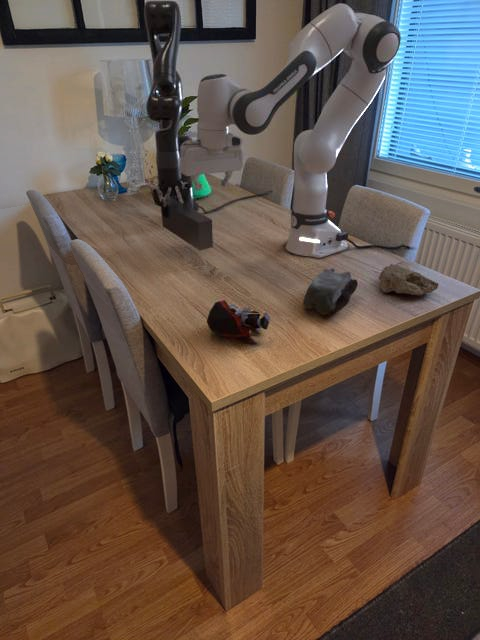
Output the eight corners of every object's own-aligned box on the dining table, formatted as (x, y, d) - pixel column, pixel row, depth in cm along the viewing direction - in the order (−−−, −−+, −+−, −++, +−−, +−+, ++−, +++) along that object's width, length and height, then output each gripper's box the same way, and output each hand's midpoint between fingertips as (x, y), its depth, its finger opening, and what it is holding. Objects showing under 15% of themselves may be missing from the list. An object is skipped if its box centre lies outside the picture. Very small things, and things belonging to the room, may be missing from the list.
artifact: (399, 307, 125) (440, 299, 130) (406, 284, 121) (449, 278, 126) (362, 275, 139) (401, 270, 144) (368, 254, 135) (408, 249, 140)
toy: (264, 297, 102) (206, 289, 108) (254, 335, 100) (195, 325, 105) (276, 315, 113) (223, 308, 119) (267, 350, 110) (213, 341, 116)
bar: (162, 226, 156) (160, 200, 151) (175, 223, 158) (173, 198, 153) (199, 250, 138) (198, 222, 133) (212, 247, 140) (212, 219, 135)
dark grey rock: (338, 325, 116) (342, 298, 112) (298, 314, 120) (300, 288, 116) (357, 296, 130) (361, 271, 126) (321, 287, 134) (323, 263, 130)
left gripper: (153, 169, 137) (158, 222, 146) (193, 163, 144) (196, 215, 153) (143, 165, 142) (148, 216, 151) (182, 159, 149) (185, 209, 158)
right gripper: (185, 143, 119) (186, 194, 126) (247, 139, 129) (245, 186, 136) (174, 139, 123) (176, 189, 130) (235, 135, 133) (233, 181, 141)
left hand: (172, 215), depth 152 cm, fingers closed on bar, 5 cm apart
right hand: (211, 187), depth 133 cm, fingers open, 8 cm apart
